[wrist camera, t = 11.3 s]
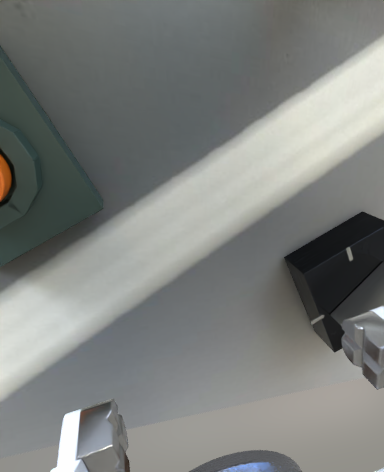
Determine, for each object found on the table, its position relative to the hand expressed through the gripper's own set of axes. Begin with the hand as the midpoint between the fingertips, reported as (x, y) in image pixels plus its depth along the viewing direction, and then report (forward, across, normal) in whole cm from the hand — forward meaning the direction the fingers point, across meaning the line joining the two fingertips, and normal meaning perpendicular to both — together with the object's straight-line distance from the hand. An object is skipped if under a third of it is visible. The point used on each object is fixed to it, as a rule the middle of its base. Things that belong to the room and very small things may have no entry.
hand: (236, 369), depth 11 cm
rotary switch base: (+18, -16, +12) cm, 27 cm away
